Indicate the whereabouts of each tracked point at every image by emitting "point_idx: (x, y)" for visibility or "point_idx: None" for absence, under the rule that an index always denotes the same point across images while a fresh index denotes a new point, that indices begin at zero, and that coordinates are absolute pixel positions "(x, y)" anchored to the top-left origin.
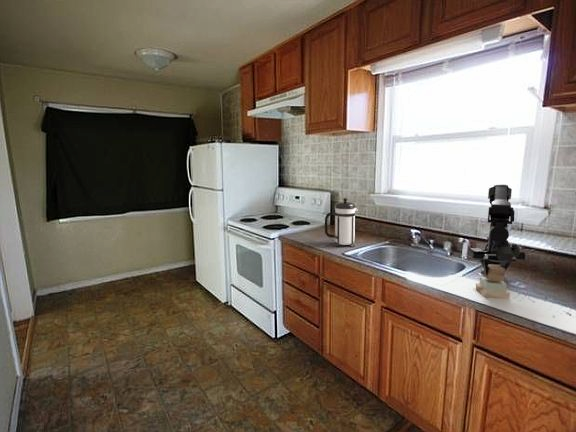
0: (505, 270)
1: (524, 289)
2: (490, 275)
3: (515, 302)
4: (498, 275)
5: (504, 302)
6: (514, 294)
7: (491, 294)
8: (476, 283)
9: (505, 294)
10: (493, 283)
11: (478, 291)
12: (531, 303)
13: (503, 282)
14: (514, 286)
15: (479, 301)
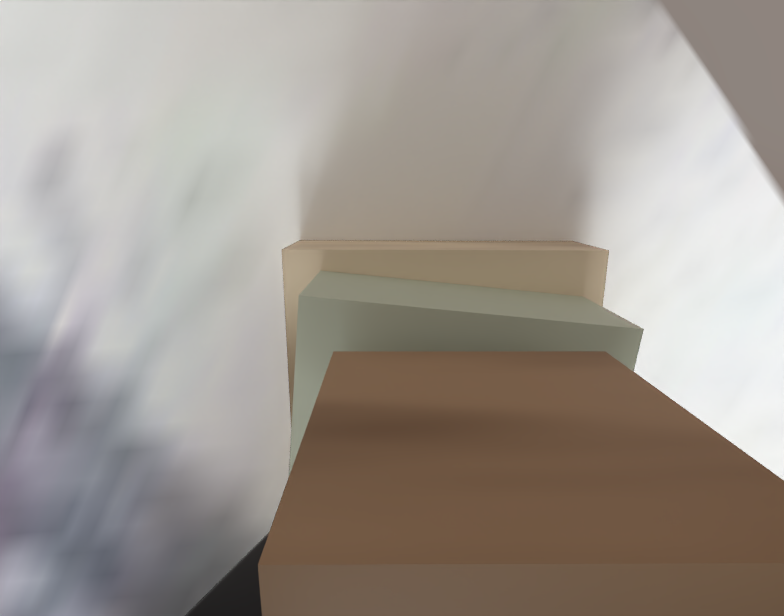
0: (203, 604)
1: (16, 504)
2: (677, 406)
3: (276, 126)
4: (470, 408)
5: (412, 113)
6: (183, 363)
7: (517, 246)
8: None
9: (339, 246)
10: (522, 327)
11: None
12: (94, 112)
13: (316, 386)
14: (91, 571)
15: (709, 117)
